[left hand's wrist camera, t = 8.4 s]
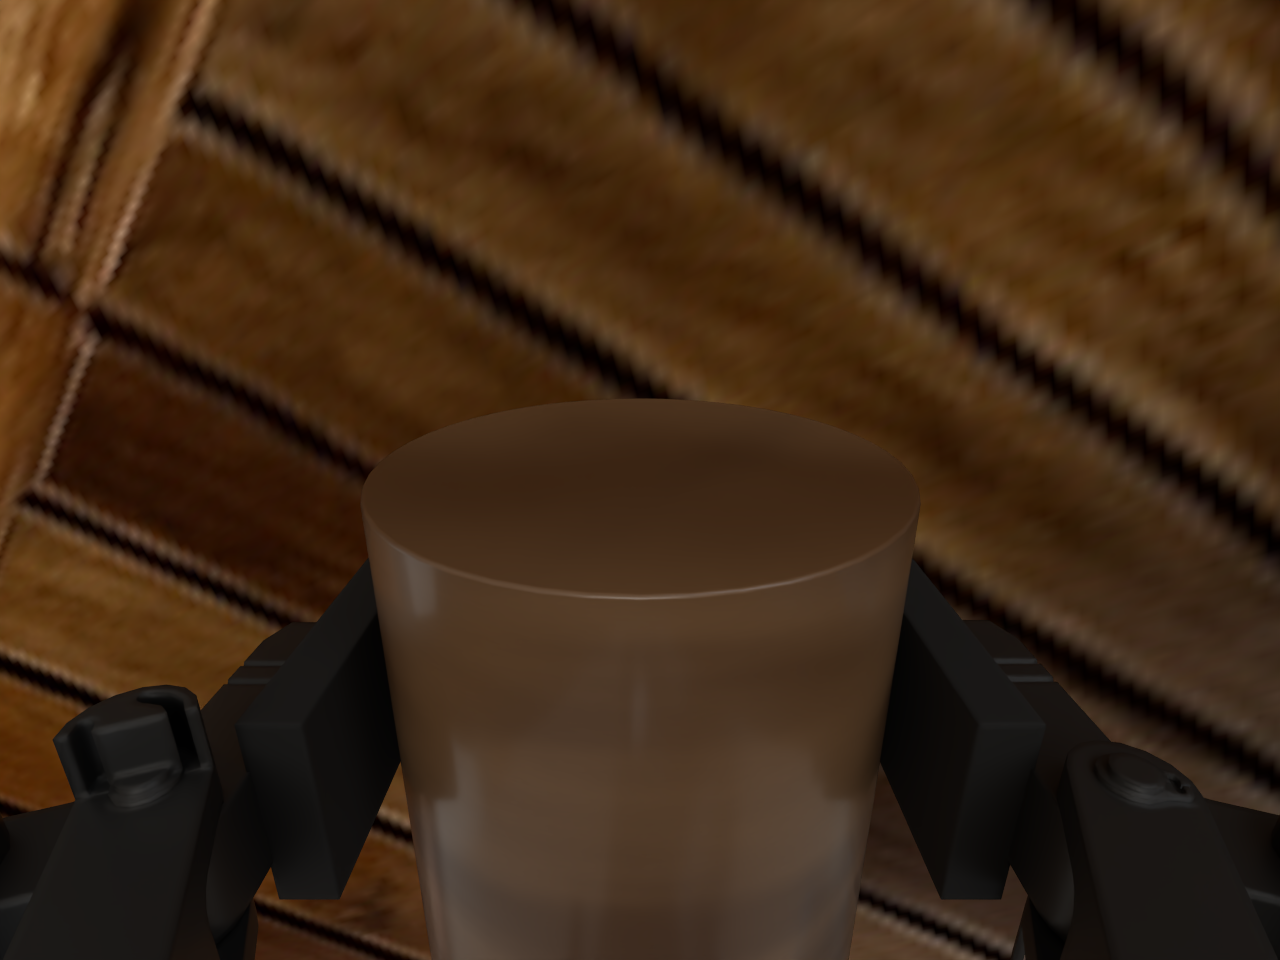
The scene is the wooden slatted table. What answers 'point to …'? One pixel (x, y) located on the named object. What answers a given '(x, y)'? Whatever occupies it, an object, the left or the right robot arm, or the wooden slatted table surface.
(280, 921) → the wooden slatted table surface
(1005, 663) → the left robot arm
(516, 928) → the rod
